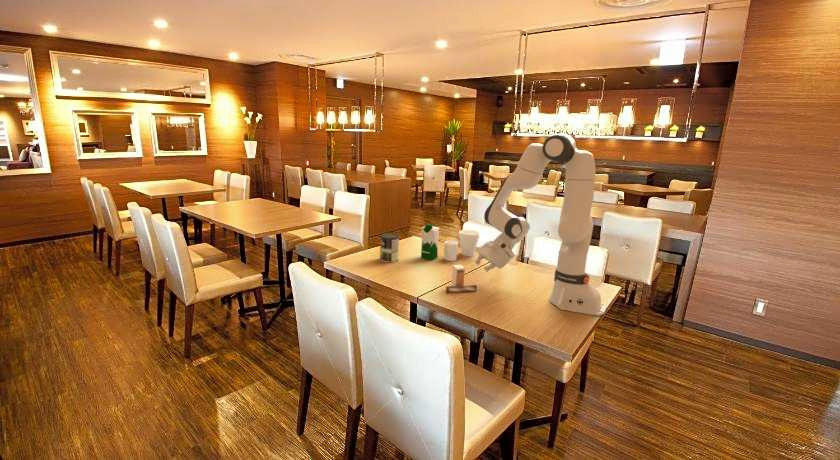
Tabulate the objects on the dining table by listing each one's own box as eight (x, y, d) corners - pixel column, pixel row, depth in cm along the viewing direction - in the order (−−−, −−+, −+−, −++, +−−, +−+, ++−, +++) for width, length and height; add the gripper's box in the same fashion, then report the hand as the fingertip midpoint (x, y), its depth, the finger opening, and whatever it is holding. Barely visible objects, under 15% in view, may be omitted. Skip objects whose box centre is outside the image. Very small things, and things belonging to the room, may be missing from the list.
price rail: (475, 289, 176) (475, 284, 176) (476, 291, 175) (476, 286, 174) (446, 291, 173) (446, 286, 172) (447, 292, 171) (447, 287, 171)
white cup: (456, 262, 215) (457, 244, 213) (442, 260, 216) (443, 243, 214) (458, 258, 222) (459, 241, 220) (444, 256, 224) (445, 240, 222)
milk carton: (418, 258, 219) (419, 224, 215) (426, 254, 227) (428, 221, 222) (431, 261, 215) (433, 226, 210) (439, 257, 222) (441, 223, 218)
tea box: (451, 285, 180) (452, 265, 178) (459, 284, 181) (461, 264, 179) (455, 289, 175) (456, 268, 173) (463, 289, 176) (464, 268, 174)
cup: (465, 258, 222) (466, 235, 219) (453, 252, 232) (454, 230, 229) (482, 256, 228) (483, 233, 225) (470, 250, 238) (471, 229, 235)
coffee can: (382, 263, 208) (382, 238, 205) (378, 257, 218) (378, 233, 214) (400, 262, 211) (401, 237, 208) (396, 256, 221) (396, 232, 218)
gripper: (487, 235, 188) (467, 255, 187) (509, 248, 169) (486, 270, 168) (494, 244, 190) (474, 263, 190) (516, 257, 171) (494, 279, 171)
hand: (480, 267), depth 179 cm, fingers open, 8 cm apart
